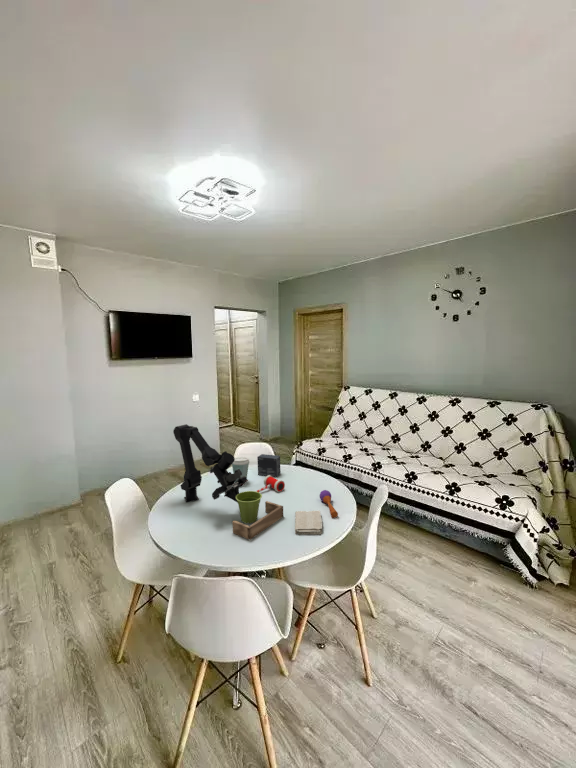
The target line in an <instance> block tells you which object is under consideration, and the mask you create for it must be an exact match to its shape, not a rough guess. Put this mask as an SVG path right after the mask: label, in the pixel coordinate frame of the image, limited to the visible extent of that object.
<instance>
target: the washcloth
mask: <svg viewBox="0 0 576 768" xmlns="http://www.w3.org/2000/svg"><path fill="white" fill-rule="evenodd" d="M294 517H295V519H294V534H295V535H297V534H298V535H301V536H302V535H303V536H304V535H307V536H309V535H313V536H315V535H322V532H323V531H322V530H323V521H322V515H321V511H320V510H310V511H308V510H307V511H306V510H302V511H301V510H298V511H295V516H294Z"/></svg>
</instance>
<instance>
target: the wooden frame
mask: <svg viewBox="0 0 576 768" xmlns="http://www.w3.org/2000/svg"><path fill="white" fill-rule="evenodd" d="M264 506H265V513H267V514H266V515H264V516H263V517H261V518H259V519H257V521H256V522H253V523H251V524H250V525H249V524H246V523H243V522H240V521H238V520H233V521H232V522H231V523H232V533H233V534H235V535H238V536H239V537H242V538H244V539H247V540H249V541H251V540H252V539H254V538H255V537H256V536H258V535H260V534H261V533H262V532H263V531H265V530H267V528H269V527H271V526H272V525H273V524H275V523H276V522H278V521H279V520H280V519H282V518H284V505H280V504H278V503H274V502H272V501H268V500H266V501H264Z"/></svg>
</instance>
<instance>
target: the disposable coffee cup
mask: <svg viewBox="0 0 576 768" xmlns="http://www.w3.org/2000/svg"><path fill="white" fill-rule="evenodd" d="M234 458H235V460H234V462H233V463H232V465H231V467H232V472H233V473H235V470H238V469H240V471H241V472H242V475H241V477H243V476H245V477H246V478H247V479H248V474H249V473H248V472H249V465H250V459H249V458H248V457H245V456H244V457H243V456H241V457H234ZM233 473H232V474H233ZM238 479H239V478H238ZM238 479H237V480H238ZM237 480H236V481H237ZM236 481H235V482H236ZM246 483H247V482H246ZM246 483H245V484H246ZM245 484H244V485H245Z"/></svg>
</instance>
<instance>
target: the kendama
mask: <svg viewBox="0 0 576 768" xmlns="http://www.w3.org/2000/svg"><path fill="white" fill-rule="evenodd" d="M319 499H320V501H321V502H322V503H324V504H326V505H327V506H328V509H329V513H330V516H331V518H332V519H335V518H336V519H337V517H338V516H339V512H338V511H337V510H336V509H335V507H334V506H333V505H332V503H331V501H332V494H331V492H330V491H329V490H327V489H323V490H321V492H320V493H319Z"/></svg>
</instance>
